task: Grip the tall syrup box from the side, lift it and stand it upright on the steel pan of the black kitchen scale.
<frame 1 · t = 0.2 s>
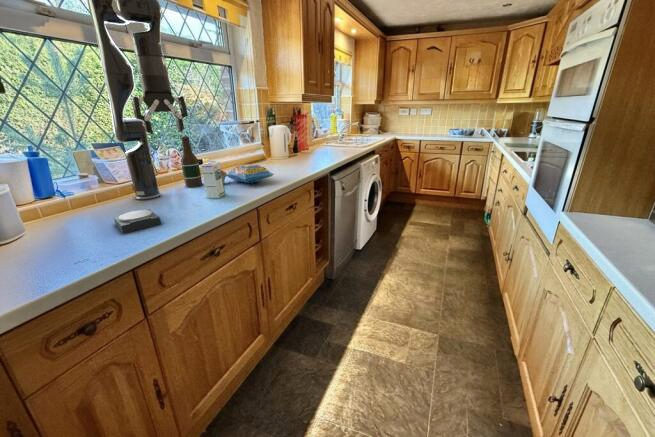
hand: (166, 132, 93), 29 cm above the countertop, tool pointing down, fingers open, 8 cm apart
beer bottle: (194, 186, 151), on the countertop
cupcake: (219, 184, 153), on the countertop
syrup box: (216, 196, 131), on the countertop
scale: (138, 224, 101), on the countertop
packet: (251, 182, 155), on the countertop
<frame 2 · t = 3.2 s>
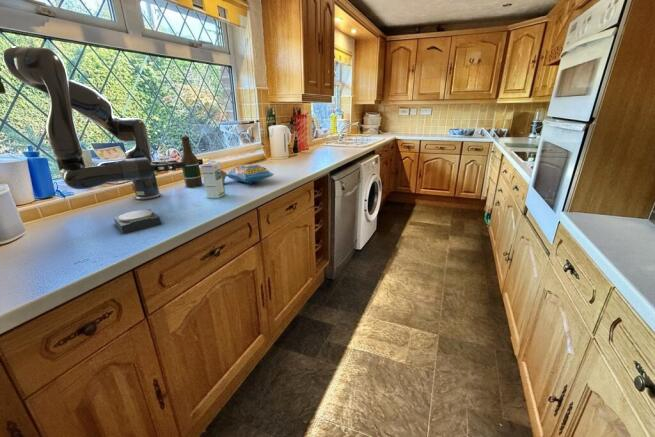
hand: (181, 163, 118), 16 cm above the countertop, tool horizontal, fingers open, 8 cm apart
nothing on the countertop moved.
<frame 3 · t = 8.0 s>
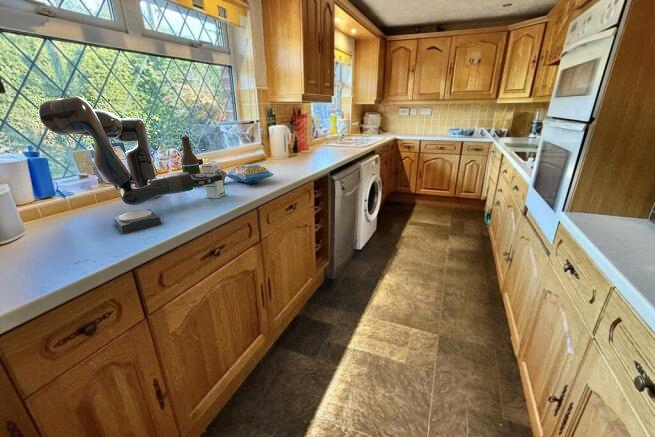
hand: (217, 176, 129), 9 cm above the countertop, tool horizontal, fingers closed on syrup box, 7 cm apart
syrup box: (216, 196, 131), on the countertop, touching gripper
everything else where it was.
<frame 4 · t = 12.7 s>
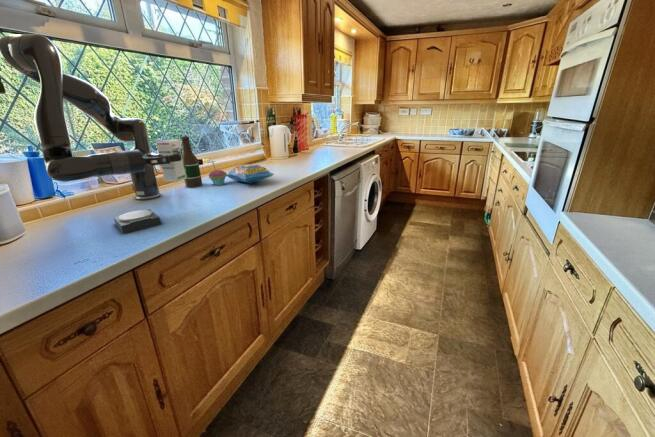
hand: (176, 156, 111), 20 cm above the countertop, tool horizontal, fingers closed on syrup box, 7 cm apart
syrup box: (176, 180, 113), point 11 cm above the countertop, touching gripper
everything else where it was.
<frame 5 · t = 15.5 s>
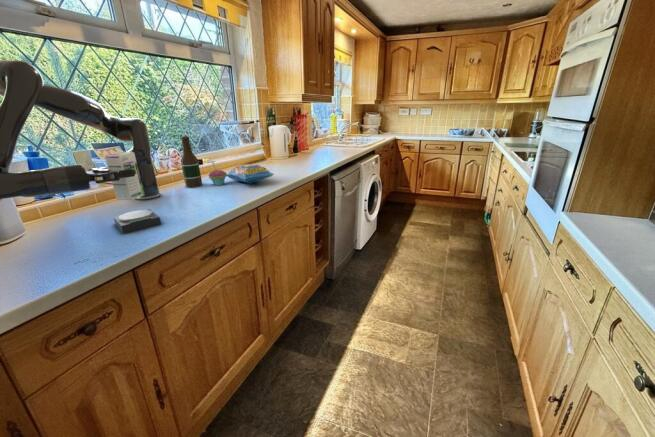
hand: (131, 170, 97), 18 cm above the countertop, tool horizontal, fingers closed on syrup box, 7 cm apart
syrup box: (130, 198, 99), point 9 cm above the countertop, touching gripper
everything else where it was.
when the fingers open (12 cm above the countertop, at t = 17.8 s): syrup box stays where it is, resting on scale.
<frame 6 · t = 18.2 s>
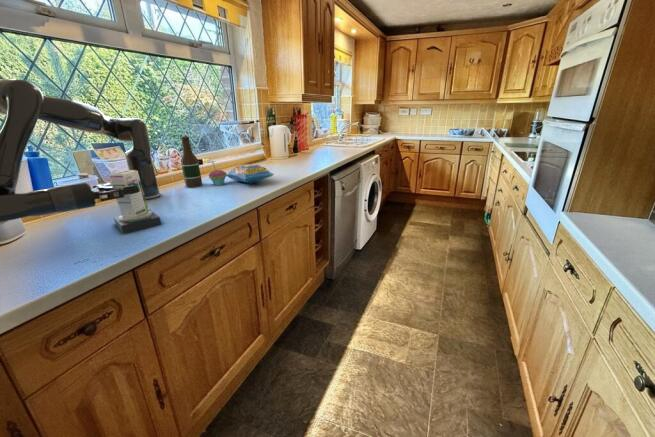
hand: (134, 186, 99), 12 cm above the countertop, tool horizontal, fingers open, 8 cm apart
syrup box: (135, 215, 101), point 3 cm above the countertop, touching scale
everything else where it was.
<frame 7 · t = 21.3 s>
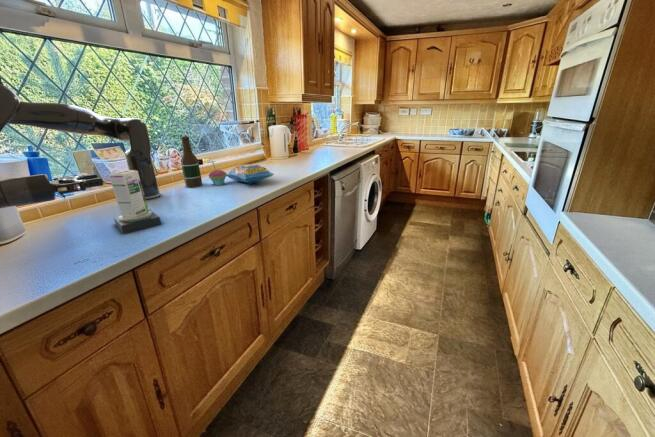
hand: (100, 179, 92), 16 cm above the countertop, tool horizontal, fingers open, 8 cm apart
nothing on the countertop moved.
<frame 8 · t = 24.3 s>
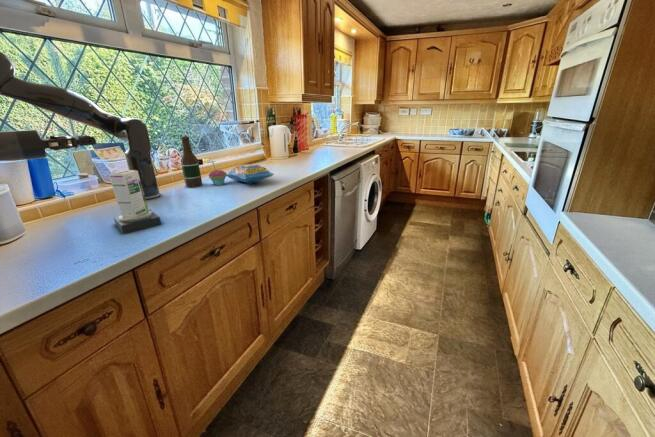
hand: (93, 139, 90), 28 cm above the countertop, tool horizontal, fingers open, 8 cm apart
nothing on the countertop moved.
at the end: syrup box inside the target area on the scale (0.0 cm from its centre), point 3.1 cm above the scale's base; syrup box tilted 0°; the gripper is holding nothing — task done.
